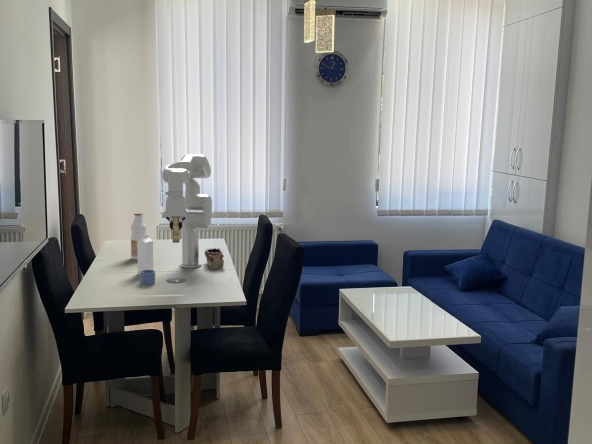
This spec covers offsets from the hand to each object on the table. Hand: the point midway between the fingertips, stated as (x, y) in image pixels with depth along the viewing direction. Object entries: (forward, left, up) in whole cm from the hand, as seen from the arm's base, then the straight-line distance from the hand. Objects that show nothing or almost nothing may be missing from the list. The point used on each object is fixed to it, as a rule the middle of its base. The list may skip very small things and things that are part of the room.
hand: (176, 229), depth 320 cm
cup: (+5, -14, -28) cm, 32 cm away
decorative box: (-36, +17, -29) cm, 49 cm away
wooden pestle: (0, 0, -7) cm, 7 cm away
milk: (-15, -18, -29) cm, 37 cm away
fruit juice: (-54, -27, -29) cm, 67 cm away
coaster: (0, 0, -28) cm, 28 cm away
